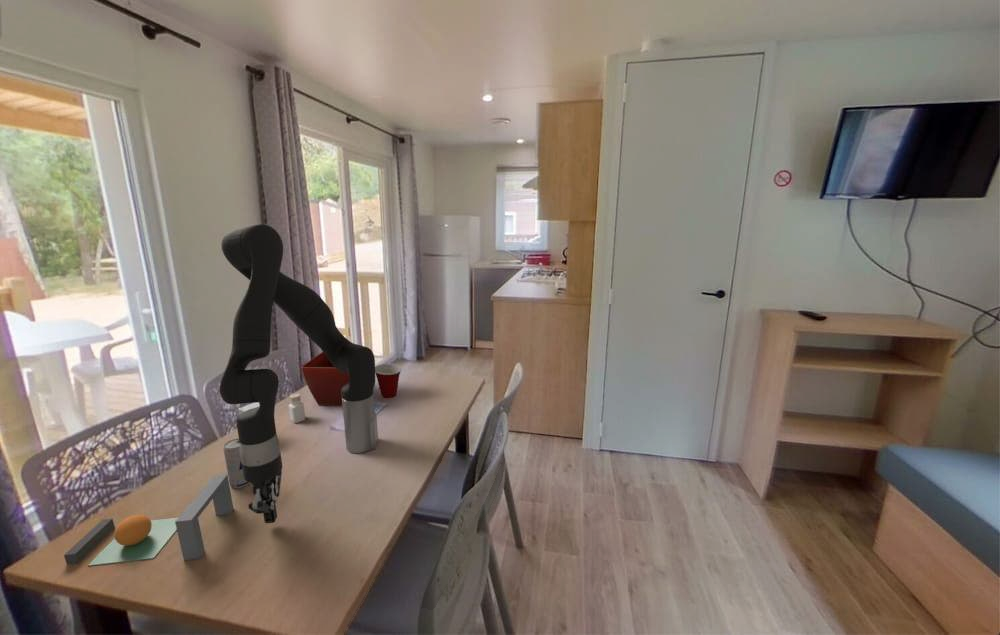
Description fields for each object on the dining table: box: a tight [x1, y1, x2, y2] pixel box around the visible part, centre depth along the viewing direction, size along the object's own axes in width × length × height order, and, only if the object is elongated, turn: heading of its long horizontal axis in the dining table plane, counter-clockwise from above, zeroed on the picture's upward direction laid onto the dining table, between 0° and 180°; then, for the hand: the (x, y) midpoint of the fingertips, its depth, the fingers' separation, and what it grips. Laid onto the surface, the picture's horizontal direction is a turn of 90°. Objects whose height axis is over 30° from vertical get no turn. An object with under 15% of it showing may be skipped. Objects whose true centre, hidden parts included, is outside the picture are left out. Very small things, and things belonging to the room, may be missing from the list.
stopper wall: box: [63, 518, 116, 566], centre depth 87 cm, size 2×10×2 cm, turn 9°
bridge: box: [175, 474, 234, 561], centre depth 90 cm, size 3×15×10 cm, turn 10°
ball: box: [114, 514, 152, 546], centre depth 87 cm, size 6×6×6 cm
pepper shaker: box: [288, 393, 306, 424], centre depth 140 cm, size 4×4×10 cm
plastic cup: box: [375, 363, 403, 399], centre depth 160 cm, size 11×11×12 cm
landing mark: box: [87, 517, 179, 567], centre depth 88 cm, size 12×12×1 cm
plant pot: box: [300, 351, 349, 406], centre depth 156 cm, size 19×19×17 cm
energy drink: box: [223, 437, 251, 489], centre depth 106 cm, size 5×5×12 cm
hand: (271, 520), depth 93 cm, fingers closed
